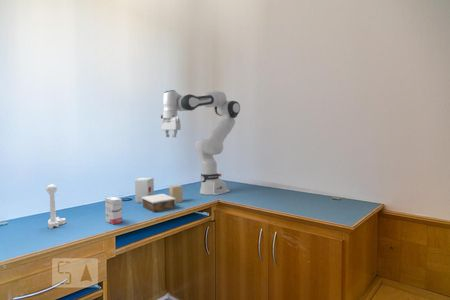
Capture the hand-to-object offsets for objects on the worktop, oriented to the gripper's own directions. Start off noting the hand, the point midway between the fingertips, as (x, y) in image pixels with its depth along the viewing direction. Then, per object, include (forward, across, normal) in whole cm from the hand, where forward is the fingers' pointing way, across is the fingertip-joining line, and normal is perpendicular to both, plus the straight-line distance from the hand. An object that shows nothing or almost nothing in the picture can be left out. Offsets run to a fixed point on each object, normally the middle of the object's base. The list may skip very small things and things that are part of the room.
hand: (171, 137), depth 187 cm
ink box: (+41, -21, +44) cm, 64 cm away
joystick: (+41, -8, +67) cm, 79 cm away
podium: (+41, -11, +15) cm, 45 cm away
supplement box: (+41, +9, +15) cm, 45 cm away
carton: (+41, -5, 0) cm, 41 cm away
